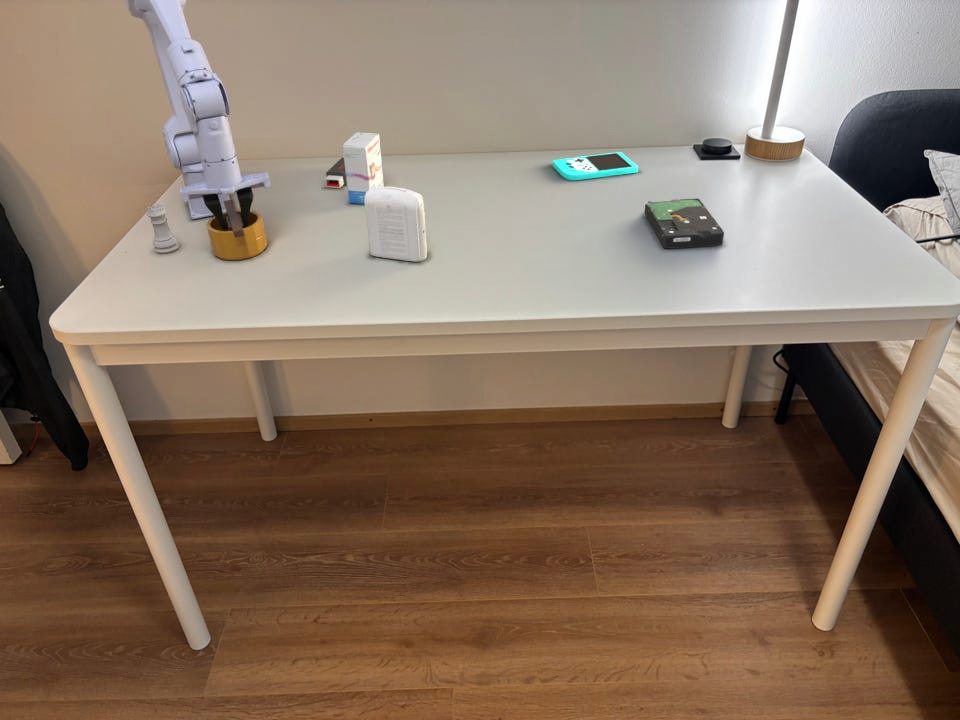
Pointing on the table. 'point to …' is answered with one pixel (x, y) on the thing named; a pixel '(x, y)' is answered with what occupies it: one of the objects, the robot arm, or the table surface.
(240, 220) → the tall wooden post
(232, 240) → the bowl
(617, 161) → the handheld game console
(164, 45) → the robot arm
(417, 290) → the table surface
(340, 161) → the usb drive
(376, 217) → the photo printer
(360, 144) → the ink box
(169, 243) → the rook chess piece
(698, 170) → the table surface
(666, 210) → the disk drive
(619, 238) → the table surface
